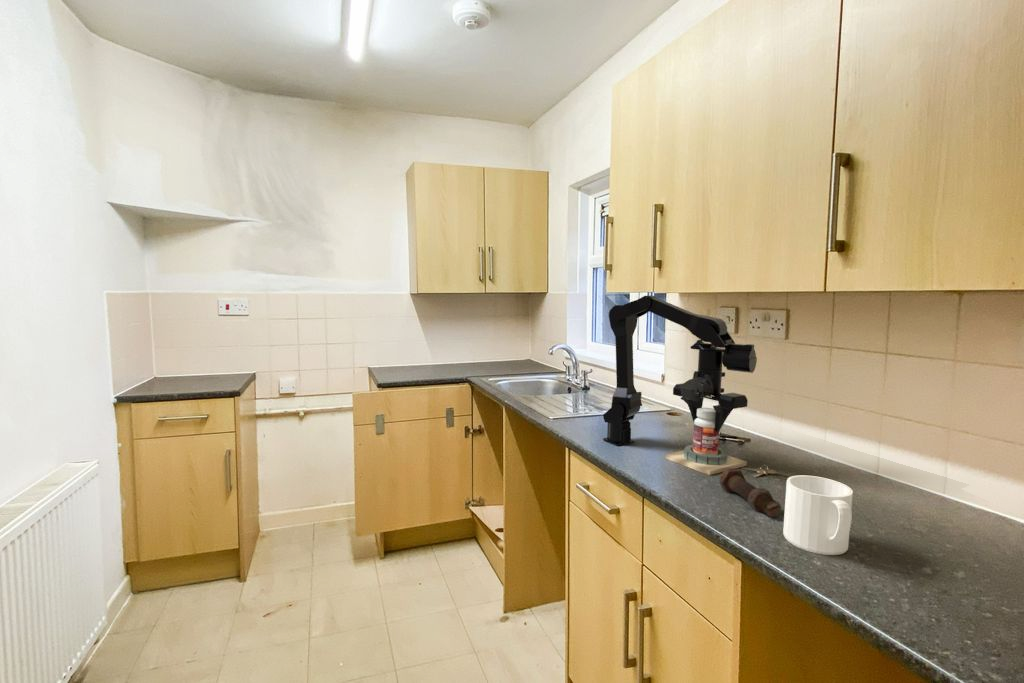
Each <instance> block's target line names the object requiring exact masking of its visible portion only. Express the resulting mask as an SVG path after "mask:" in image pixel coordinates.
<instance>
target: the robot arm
mask: <svg viewBox="0 0 1024 683" xmlns="http://www.w3.org/2000/svg"><path fill="white" fill-rule="evenodd" d="M648 313H651V314H654V315H657V316H658V317H661V318H664V320H665V319H666V320H668V321H670V322H672V323H675V324H677V325H679V326H681V327H684V328H685V329H687V330H688V331H689V333H690V334H692V335H693V336H694V337H696V338H697V340H696V341H695V343H693V345H691V346H689V347H690V349H691V350H698V361H697V362H698V363H697V370H695V371H694V372H693V376H692V378H691V379H688V380H686V381H685V382H681V383H676V384H675V385H674V387H673V389H672V395H673V396H676V397H677V396H678V397H680V399H681V400H682V401H684V402H685V403H686V405H687V406H688V408H689V412H690V415H691V418H692V421H693V423H694V421H695V419H696V418H698V416H697V409H698V408H703V403H704V399H708V400H712V401H716V402H718V404H717V405H712V407H713V408H712V409H715V411H716V416H715V431H719V432H720V431H721V429H722V427H723V425H724V424H725V422H726V420H727V418H729V415H730V414H731V413H732V411H733V410H737V409H741V408H747V407H748V398H747V396H746V395H745V394H742V393H741V394H740V393H737V392H728V393H725V388H724V387H722V378H724V377H726V372H724V371H723V367H724V368H726V370H727V371H731V372H733V371H734V372H742V373H749V374H750V373H751V374H753V373H754V372H755V370H756V367H757V362H758V361H757V360H758V358H757V354H756V350H755V344H751V343H750V344H749V343H748V344H747V343H746V344H743V343H736V342H735V341H734V339H733V337H732V336H731V334H730V333H729V331H728V326H727V323H726V322H725V321H724V320H723V319H721V318H719V317H718V318H717V317H715V316H714V317H713V316H709V315H704V314H703V315H702V314H697V313H694V312H691V311H689V310H687V309H684V308H682V307H679V306H677V305H675V304H672V303H671V302H670V303H669V301H665V300H663V299H660V298H658V297H657V296H655V295H643V296H641V297H640V298H638V299H636V300H632V301H630V302H627V303H624V304H617V305H614V306H612V307H611V309H610V310H609V312H608V318H609V319H608V321H609V326H610V329H611V331H612V332H613V335H614V338H615V339H614V340H615V369H616V370H615V372H616V375H615V376H616V388H615V390H614V391H613V395H612V397H611V398H612V399H611V406H610V408H609V409H608V410H607V411H606V412H605V413H604V414H603V416H602V417H603V420H604V423H607V436H606V437H604V438H603V439H602V440H603V441H605V442H607V443H610V444H613V445H616V446H623V445H628V444H633V443H635V440H633V439H632V437H631V436H632V427H631V423H632V422H631V420H632V421H633V420H634V418H635V417H636V415H637V414H638V413H639V412H640V409H641V406H643V402H642V392H641V391H637V390H636V387H635V384H634V382H635V381H634V377H635V376H634V346H633V344H634V343H633V342H634V341H633V340H634V339H633V336H634V334H635V330H636V329H637V326H638V325H637V324H638V318H640V317H642V316H644V315H646V314H648Z"/></svg>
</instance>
